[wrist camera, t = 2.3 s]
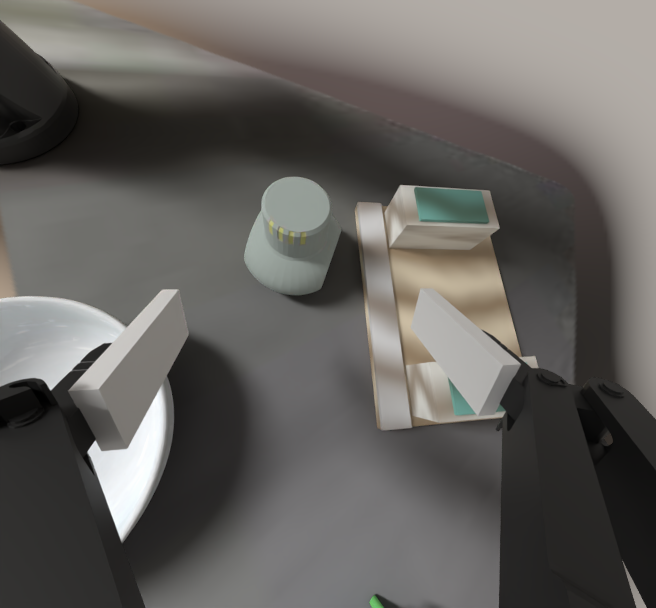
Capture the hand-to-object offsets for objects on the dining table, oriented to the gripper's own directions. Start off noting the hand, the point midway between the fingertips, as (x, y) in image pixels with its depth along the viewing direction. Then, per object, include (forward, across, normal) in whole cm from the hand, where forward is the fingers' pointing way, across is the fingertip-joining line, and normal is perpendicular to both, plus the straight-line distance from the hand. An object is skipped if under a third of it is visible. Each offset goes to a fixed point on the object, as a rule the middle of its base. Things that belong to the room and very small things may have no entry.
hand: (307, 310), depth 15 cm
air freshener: (+17, 0, -3) cm, 18 cm away
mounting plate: (+13, +17, -7) cm, 22 cm away
